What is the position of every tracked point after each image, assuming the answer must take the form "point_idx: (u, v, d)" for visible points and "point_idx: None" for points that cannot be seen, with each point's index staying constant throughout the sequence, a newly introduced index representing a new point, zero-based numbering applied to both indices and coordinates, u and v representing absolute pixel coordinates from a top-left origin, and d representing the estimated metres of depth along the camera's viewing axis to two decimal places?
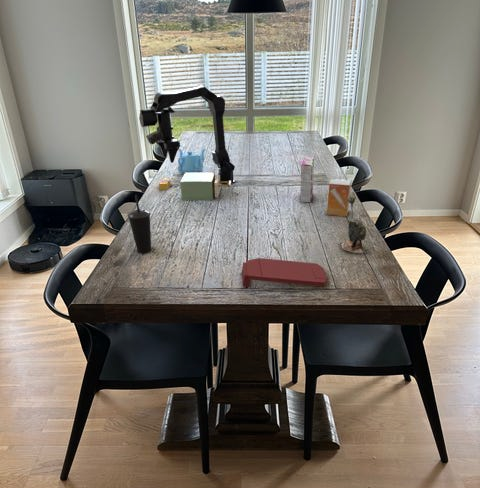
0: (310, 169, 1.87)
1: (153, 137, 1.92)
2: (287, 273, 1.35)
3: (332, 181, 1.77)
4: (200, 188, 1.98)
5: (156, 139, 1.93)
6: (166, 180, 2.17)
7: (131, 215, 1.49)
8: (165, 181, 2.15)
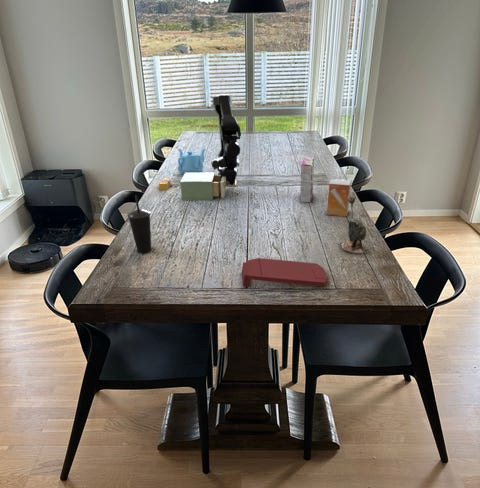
0: (310, 169, 1.87)
1: (213, 163, 1.95)
2: (287, 273, 1.35)
3: (332, 181, 1.77)
4: (200, 188, 1.98)
5: (216, 165, 1.95)
6: (166, 180, 2.17)
7: (131, 215, 1.49)
8: (165, 181, 2.15)
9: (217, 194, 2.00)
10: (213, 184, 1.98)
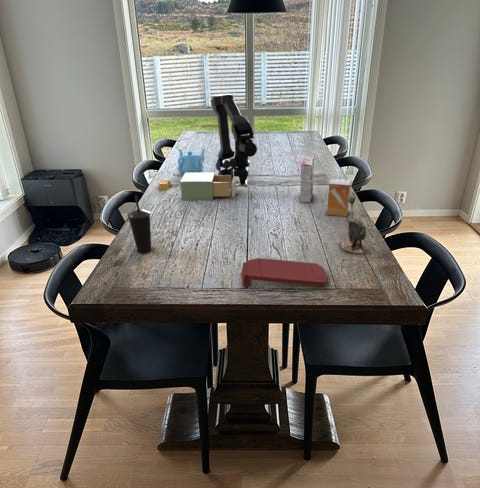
0: (310, 169, 1.87)
1: (225, 163, 1.94)
2: (287, 273, 1.35)
3: (332, 181, 1.77)
4: (200, 188, 1.98)
5: (228, 165, 1.95)
6: (166, 180, 2.17)
7: (131, 215, 1.49)
8: (165, 181, 2.15)
9: (228, 194, 2.00)
10: (224, 184, 1.98)
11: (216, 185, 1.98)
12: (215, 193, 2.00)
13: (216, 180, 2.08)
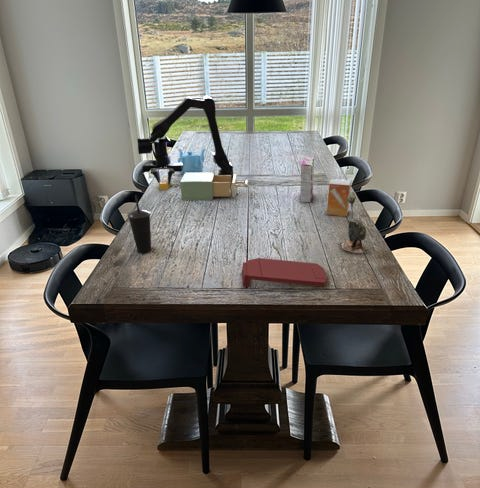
0: (310, 169, 1.87)
1: None
2: (287, 273, 1.35)
3: (332, 181, 1.77)
4: (200, 188, 1.98)
5: None
6: (166, 180, 2.17)
7: (131, 215, 1.49)
8: (165, 181, 2.15)
9: (228, 194, 2.00)
10: (224, 184, 1.98)
11: (216, 185, 1.98)
12: (216, 193, 2.00)
13: (216, 180, 2.08)
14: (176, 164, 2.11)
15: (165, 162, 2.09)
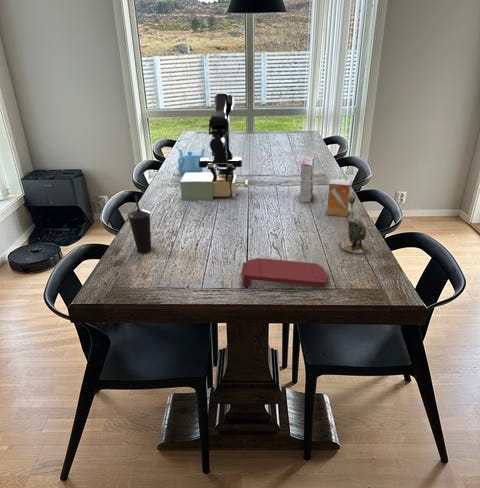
0: (310, 169, 1.87)
1: None
2: (287, 273, 1.35)
3: (332, 181, 1.77)
4: (200, 188, 1.98)
5: (212, 154, 2.03)
6: (223, 176, 2.02)
7: (131, 215, 1.49)
8: (222, 177, 2.01)
9: (228, 194, 2.00)
10: (224, 184, 1.98)
11: (216, 185, 1.98)
12: (216, 193, 2.00)
13: None
14: (235, 159, 1.97)
15: (224, 157, 1.95)
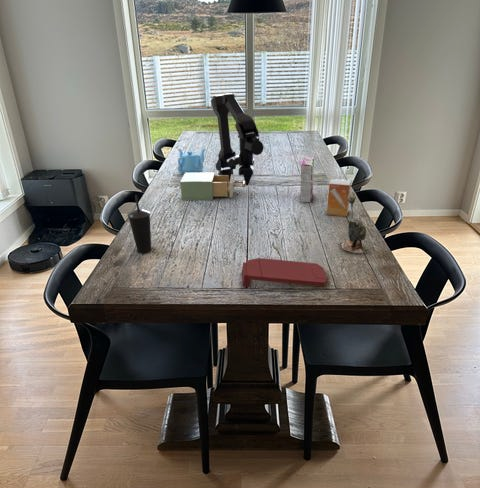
0: (310, 169, 1.87)
1: (230, 161, 1.94)
2: (287, 273, 1.35)
3: (332, 181, 1.77)
4: (200, 188, 1.98)
5: (232, 164, 1.94)
6: None
7: (131, 215, 1.49)
8: None
9: (226, 194, 2.00)
10: (222, 184, 1.98)
11: (213, 185, 1.99)
12: (213, 193, 2.00)
13: (214, 180, 2.08)
14: None
15: None
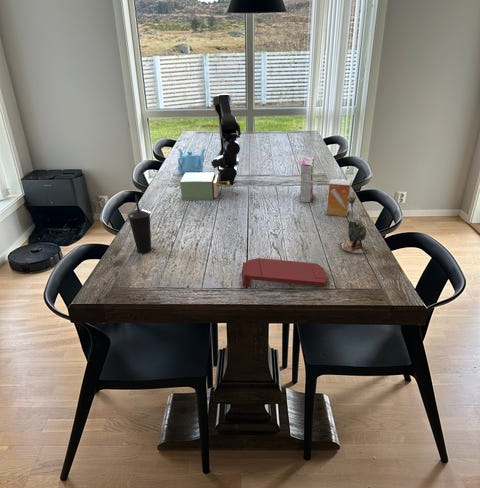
0: (310, 169, 1.87)
1: (213, 162, 1.94)
2: (287, 273, 1.35)
3: (332, 181, 1.77)
4: (200, 188, 1.98)
5: (216, 164, 1.95)
6: None
7: (131, 215, 1.49)
8: None
9: None
10: None
11: None
12: None
13: None
14: None
15: None
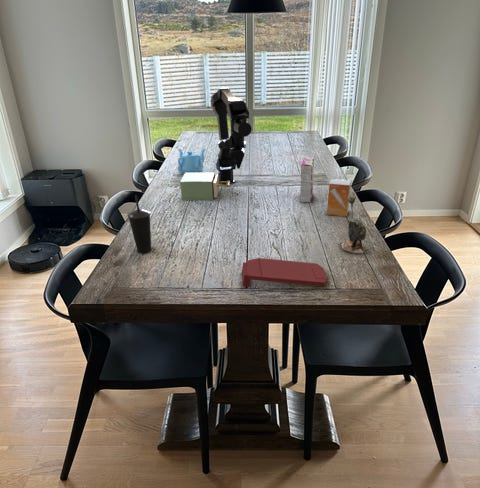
0: (310, 169, 1.87)
1: (220, 144, 1.90)
2: (287, 273, 1.35)
3: (332, 181, 1.77)
4: (200, 188, 1.98)
5: (223, 146, 1.91)
6: None
7: (131, 215, 1.49)
8: None
9: None
10: None
11: None
12: None
13: None
14: None
15: None
